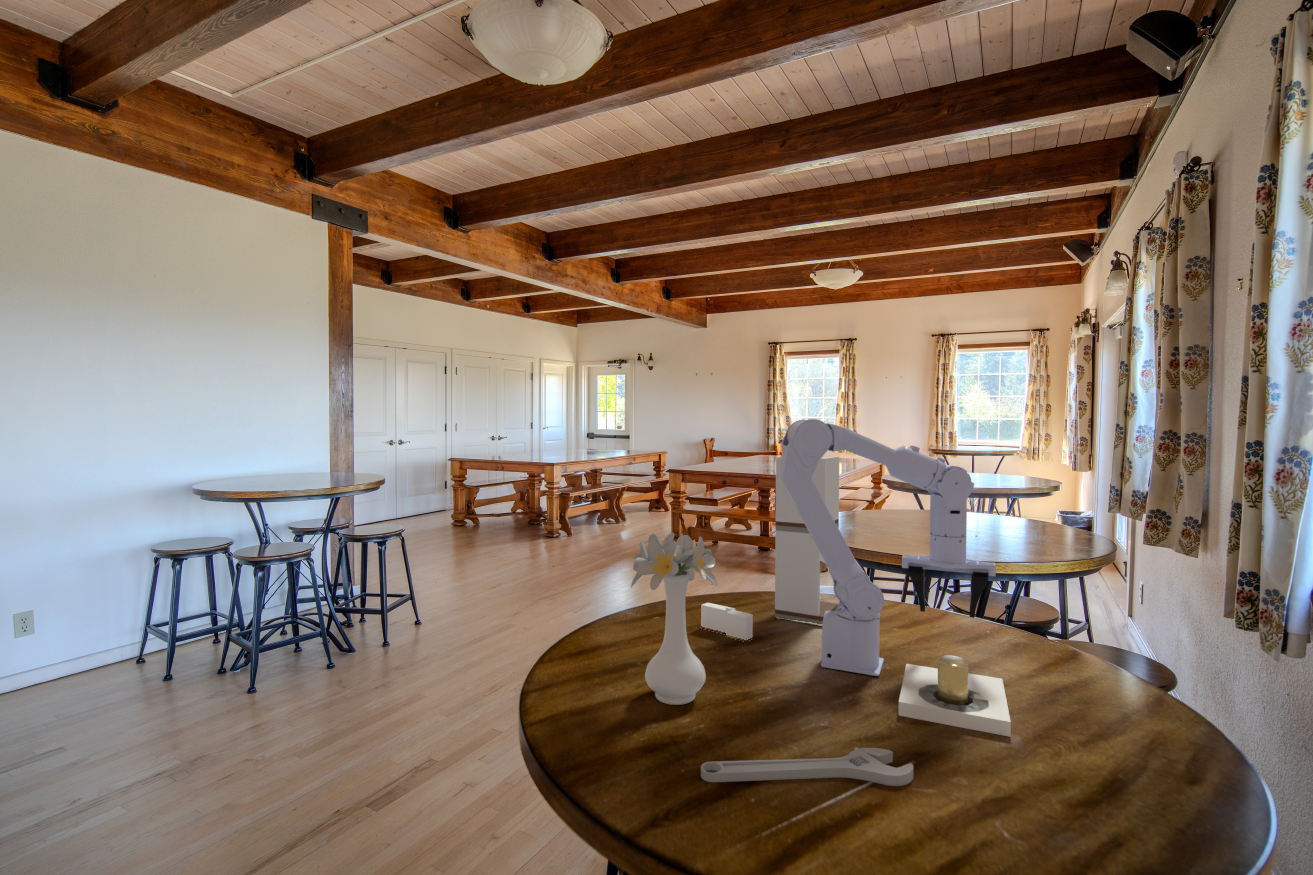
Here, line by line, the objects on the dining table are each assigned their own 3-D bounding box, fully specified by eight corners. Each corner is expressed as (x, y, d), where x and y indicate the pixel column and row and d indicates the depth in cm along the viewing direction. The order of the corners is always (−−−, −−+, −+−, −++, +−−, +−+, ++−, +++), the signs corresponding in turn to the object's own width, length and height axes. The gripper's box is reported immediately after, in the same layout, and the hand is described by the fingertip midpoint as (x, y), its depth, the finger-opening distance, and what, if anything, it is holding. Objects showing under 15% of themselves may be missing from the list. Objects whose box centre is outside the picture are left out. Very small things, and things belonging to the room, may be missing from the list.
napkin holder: (688, 626, 130) (689, 599, 130) (740, 623, 132) (740, 596, 132) (710, 652, 115) (710, 621, 115) (767, 647, 118) (767, 617, 118)
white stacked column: (823, 626, 129) (825, 458, 128) (774, 618, 134) (776, 457, 134) (838, 612, 138) (839, 456, 138) (791, 605, 144) (792, 455, 143)
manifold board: (898, 715, 89) (898, 680, 89) (906, 675, 103) (906, 645, 103) (1010, 736, 83) (1011, 699, 83) (1002, 691, 97) (1002, 659, 97)
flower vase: (706, 670, 105) (707, 523, 105) (723, 722, 87) (724, 544, 86) (629, 671, 104) (630, 524, 104) (630, 724, 86) (631, 544, 86)
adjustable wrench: (701, 787, 72) (701, 772, 72) (698, 758, 78) (698, 744, 78) (918, 789, 71) (918, 773, 71) (898, 759, 78) (898, 745, 78)
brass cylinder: (936, 714, 89) (937, 666, 89) (938, 703, 93) (938, 657, 93) (967, 720, 88) (968, 671, 87) (967, 708, 91) (968, 661, 91)
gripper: (900, 534, 106) (900, 613, 106) (997, 541, 100) (996, 625, 100) (903, 528, 113) (903, 603, 113) (994, 534, 106) (993, 613, 106)
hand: (947, 612), depth 107 cm, fingers open, 7 cm apart
